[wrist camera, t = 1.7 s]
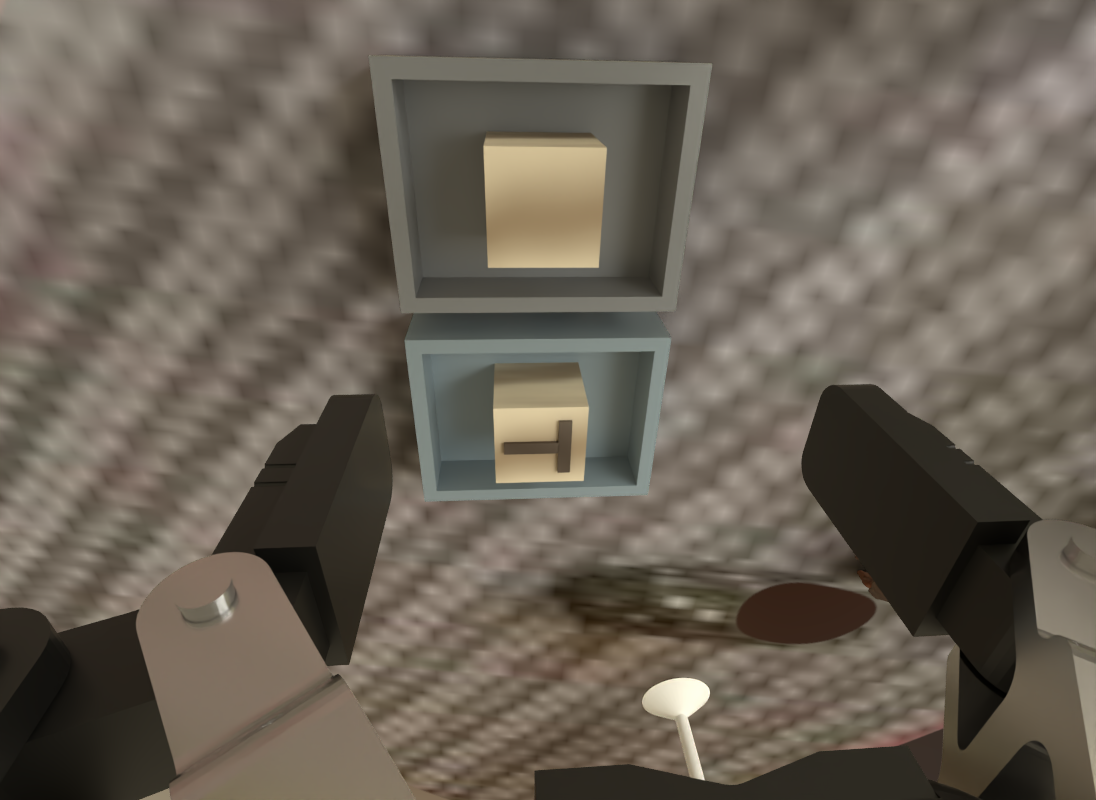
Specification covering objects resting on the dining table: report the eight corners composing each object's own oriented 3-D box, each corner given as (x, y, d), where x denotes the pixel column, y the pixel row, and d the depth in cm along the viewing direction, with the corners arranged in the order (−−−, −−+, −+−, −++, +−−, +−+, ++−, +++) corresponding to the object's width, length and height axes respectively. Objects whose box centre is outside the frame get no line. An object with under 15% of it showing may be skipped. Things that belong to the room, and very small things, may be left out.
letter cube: (494, 363, 33) (493, 410, 29) (578, 362, 34) (589, 409, 29) (497, 432, 36) (495, 485, 31) (574, 430, 36) (584, 483, 32)
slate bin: (413, 312, 32) (404, 340, 29) (655, 311, 33) (671, 337, 30) (431, 465, 38) (424, 501, 35) (636, 460, 39) (647, 494, 36)
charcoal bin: (384, 54, 25) (368, 55, 22) (688, 62, 26) (712, 63, 23) (411, 287, 31) (400, 313, 28) (659, 286, 32) (675, 311, 29)
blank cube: (486, 131, 27) (483, 146, 22) (590, 132, 27) (606, 147, 23) (490, 236, 29) (487, 267, 25) (585, 236, 30) (598, 267, 25)
